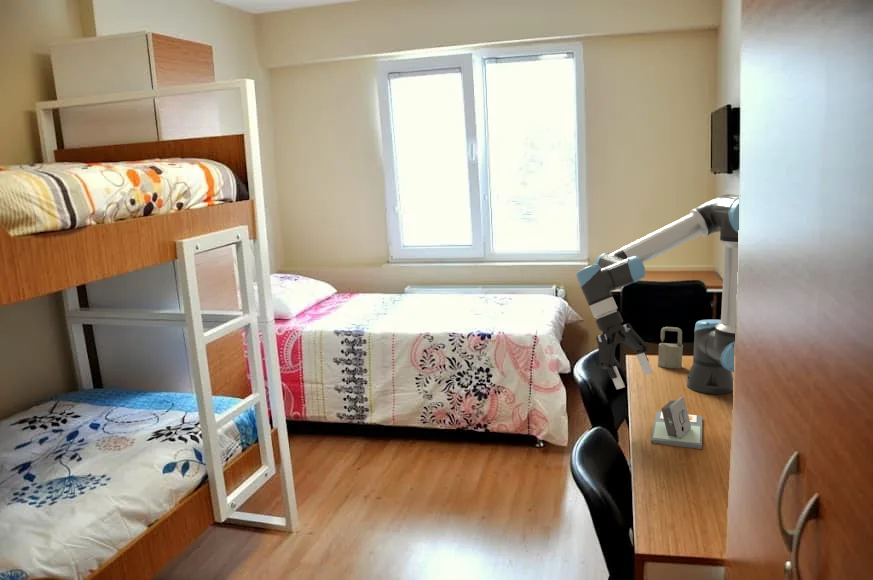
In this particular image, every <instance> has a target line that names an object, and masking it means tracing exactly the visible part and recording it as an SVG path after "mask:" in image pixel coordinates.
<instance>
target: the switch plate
mask: <svg viewBox="0 0 873 580" xmlns="http://www.w3.org/2000/svg"><path fill="white" fill-rule="evenodd" d="M688 415H689V419H690V423H691V429H690V430H689V431H688V432H687V433H686V434H685V435H684V436H683V437H682V438H677V436H676V435H675V436H673V435H668V434H667V430H666V426H665V422H664V418H663V414H662V411H659V410H656V411H655V416H654V420H653V421H654V422H653V426H652V434H651V438H650V439H651V440H650V443H651V442H653V443H652V444H656V443H660V444H659V445H666V446H673V447H674V446H675V447H682V448H689V449H690V448H691V449H699V450H703V415H696V414H689V413H688ZM669 422H670V421H669Z"/></svg>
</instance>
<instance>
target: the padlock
mask: <svg viewBox="0 0 873 580" xmlns="http://www.w3.org/2000/svg"><path fill="white" fill-rule="evenodd" d="M666 332H677V343H667V342H664V340H665V338H666ZM660 340H661V342H660V343H659V344H658V356H657V358H658V359H657V367H661V368H669V369H682V367H683V366H682V365H683V347H684V345H683V344H682V343H683V331H682V329H681V328H679V327H674V326H665V327H664V326H663V327H662V328H661V330H660Z"/></svg>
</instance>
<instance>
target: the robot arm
mask: <svg viewBox="0 0 873 580" xmlns="http://www.w3.org/2000/svg"><path fill="white" fill-rule="evenodd" d="M738 230H739V194H728V193H727V194H722V195H720V196H717V197H715V198H712V199H710V200H708V201H706V202H704V203H703V204H700V205H699V206H697V207H694V208H692V209H690V211H689V213H688V214H687V215H685V216H683V217H681V218H680V219H677V220H675V221H674V222H671V223H669V224H667V225H664V226H663V227H661V228H659V229H657V230H655V231H653V232H651V233H649V234H647V235H645V236H643V237H641V238H639V239H636V240H635V241H633V242H631V243H629V244H627V245H624V246H623V247H621V248H618V249H617V250H614V251H613V252H604V253H601V254H600V255H598V257H597V258H596V260H595V263H594V264H592V265H589V266H586V267H583V268H582V269H580V270H578V271H577V272H576V278H577V281H578V283H579V288H581V289H580V290H581V292H582V293H583V295H584V298H585V300H586V302H587V304H588V306H589V309H590V311H591V314H592V316H593V318H596V319H595V324H596V325H597V328H598V330H599V331H600V332H602V333H601V334H599V335H596V337H595V338H596V341H597V347H598V359H599V362H598V363H599V368H600V369H603V370H607V373H608V375H609V377H610V379H611V380H612V382H613V384H614V387H615V389H616V390H620V389H623V388H626V386H625V383H624V381H623V379H622V376H621V374H620V372H619V370H618V367H617V366H616V365H614V363H615V357H616V356H615V355H616V348H617V346H618V345H619V344H620V343H621V344H624V345H626V346H627V347H628V348H629V349H631V350H632V351H634V352H635V353H637V354H636V355H635V357H636V358H637V360H638V363H639V365H640V367H641V370H642V372H643V374H644V376H647V375H651V374H653V369H652V367H651V365H650V363H649V359H648V356H647V354H646V352H647V351H648V348H649V346H648V344H647V343H646V342H645V341H644V340H643V338H642V337H641V336H640V335H639V334H638V333H637V331H635V329H634V328H633V326H632V324H631V323H629V322H627V323H626V324H623V322H624V319H623V317H622V315H621V313H620V311H618V306H617V304H616V301H615V299H614V297H613V294H612V291H616V290H618V289H621V288H624V287H626V286H628V285H632V284H633V283H637V282H638V281H640V280H642V279H644V278H645V277H646V268H645V265H644V263H647V262H648V261H649V262H650V260H652V259H656V258H657V257H659V256H661V255H664V254H665V253H667V252H669V251H671V250H673V249H675V248H677V247H679V246H681V245H683V244H686V243H687V242H690V241H691V240H693V239H696V238H697V237H700V236H702V237H707V236H710V235H711V234H713V233H718V232H719V241H720V242H721V244H723V245H724V257H723V258H724V259H723V260H724V261H723V274H722V275H723V277H722V292H721V293H722V294H721V314H720V319H701V320H697V321H696V323H695V326H694V331H693V332H694V333H693V334H694V338H693V339H694V340H693V356H692V357H693V358H692V361H693V362H692V365H691V367H690V370H689V371H688V375H687V377H686V387H688V388H689V389H691V390H693V391H696V392H699V393H705V394H711V395H712V394H713V395H721V394H724V395H726V394H729V393H733V392H734V391H733V380H734V381H735V379H734V375H733V373H735V372H734V344H735V324H736V294H737V272H738Z"/></svg>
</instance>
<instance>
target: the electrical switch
mask: <svg viewBox="0 0 873 580" xmlns="http://www.w3.org/2000/svg"><path fill="white" fill-rule="evenodd" d="M661 412H662V414H663V418H664V422H665V426H666V430H667V434H668V435H673V436H675V435H676V436H677V438H682V437H683V436H684V435H685V434H686V433H687V432H688V431H689V430H690V429H691V423H690V419H689V415H690V414H689V411H688V408H687V405H686V401H685V397H684V396H680V397H679V398H677V399H676V400H669V402H667V403H666V404H665V405H664V406H663V407H661ZM688 414H689V415H688ZM669 421H670V422H669Z"/></svg>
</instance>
